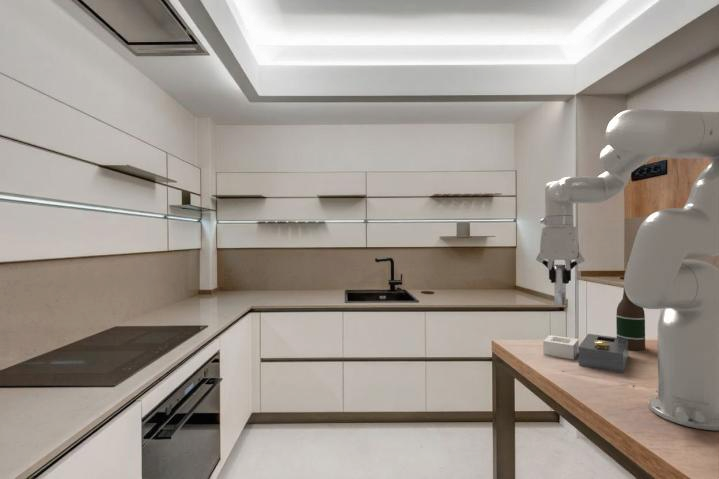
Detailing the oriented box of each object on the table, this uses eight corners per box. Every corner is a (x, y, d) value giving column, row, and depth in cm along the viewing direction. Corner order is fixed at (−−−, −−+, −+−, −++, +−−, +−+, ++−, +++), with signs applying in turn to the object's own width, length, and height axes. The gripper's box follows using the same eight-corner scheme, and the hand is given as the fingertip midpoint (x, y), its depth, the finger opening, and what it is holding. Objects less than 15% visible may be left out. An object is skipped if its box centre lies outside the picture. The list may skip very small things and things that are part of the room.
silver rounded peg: (564, 305, 110) (564, 265, 110) (553, 304, 112) (553, 265, 112) (566, 304, 112) (566, 264, 112) (555, 302, 114) (555, 264, 114)
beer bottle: (622, 353, 114) (621, 275, 113) (611, 346, 121) (610, 273, 121) (651, 355, 112) (650, 276, 112) (638, 347, 119) (637, 273, 119)
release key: (609, 368, 99) (608, 344, 99) (593, 365, 101) (593, 342, 101) (610, 364, 102) (610, 341, 102) (595, 361, 104) (595, 339, 104)
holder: (573, 362, 106) (573, 345, 106) (543, 357, 112) (543, 340, 112) (578, 355, 113) (578, 339, 113) (549, 350, 118) (549, 335, 118)
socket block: (623, 377, 95) (622, 353, 95) (578, 368, 102) (578, 347, 102) (628, 359, 108) (627, 338, 108) (588, 352, 115) (588, 333, 115)
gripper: (527, 223, 114) (527, 282, 114) (588, 221, 104) (589, 286, 104) (533, 223, 120) (534, 279, 120) (592, 221, 109) (593, 283, 110)
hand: (559, 282), depth 112 cm, fingers closed on silver rounded peg, 3 cm apart
